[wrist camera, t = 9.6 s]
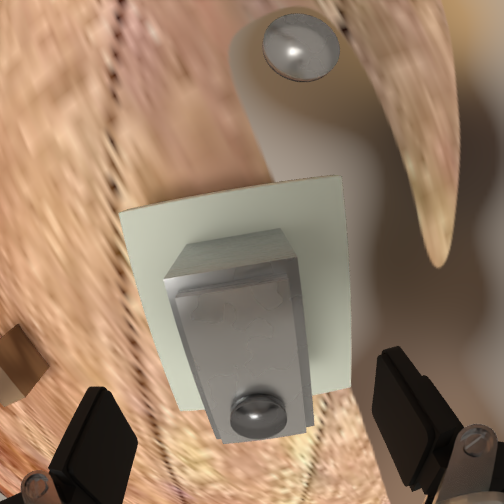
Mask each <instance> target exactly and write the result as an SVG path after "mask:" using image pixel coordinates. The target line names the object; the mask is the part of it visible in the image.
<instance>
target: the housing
mask: <svg viewBox="0 0 504 504" xmlns="http://www.w3.org/2000/svg"><path fill="white" fill-rule="evenodd" d="M163 280H164V284H165V288H166V291H167V295H168V298H169V302H170V305H171V309H172V312H173V316H174V319H175V322H176V326H177V329H178V332H179V335H180V338H181V342H182V345H183V348H184V351H185V354H186V357H187V360H188V363H189V366H190V369H191V372H192V375H193V378H194V381H195V383H196V386H197V389H198V392H199V395H200V397H201V400H202V403H203V405H204V408H205V411H206V413H207V416H208V419H209V421H210V424H211V426H212V429H213V431H214V434H215V436H216V439H222V442H223V444H229V443H239V442H249V441H257V440H265V439H272V438H278V437H285V436H291V435H296V434H302V433H306V427H309V426H314V415H313V401H312V389H311V377H310V366H309V356H308V345H307V335H306V326H305V317H304V308H303V299H302V290H301V282H300V274H299V266H298V258H297V255H296V254H295V252H294V250H293V248H292V247H291V245H290V243H289V242H288V240H287V238H286V237H285V235H284V233H283V231H282V230H281V228H277V229H271V230H265V231H260V232H254V233H248V234H242V235H236V236H230V237H225V238H219V239H213V240H208V241H202V242H196V243H191V244H186V246H185V247H184V249H183V250H182V252H181V253H180V255H179V256H178V258H177V259H176V261H175V262H174V264H173V265H172V267H171V268H170V270H169V271H168V273H167V274H166V276H165V277H164V279H163Z"/></svg>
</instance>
